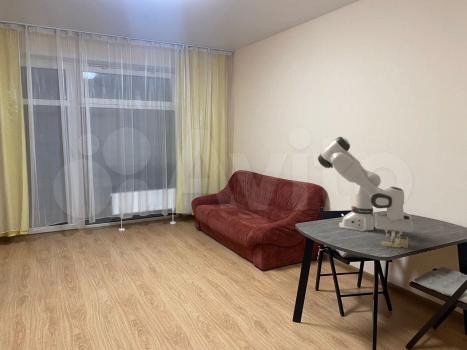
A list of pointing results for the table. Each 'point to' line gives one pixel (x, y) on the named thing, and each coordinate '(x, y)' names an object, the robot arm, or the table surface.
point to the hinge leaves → (397, 243)
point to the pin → (392, 236)
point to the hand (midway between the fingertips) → (392, 237)
